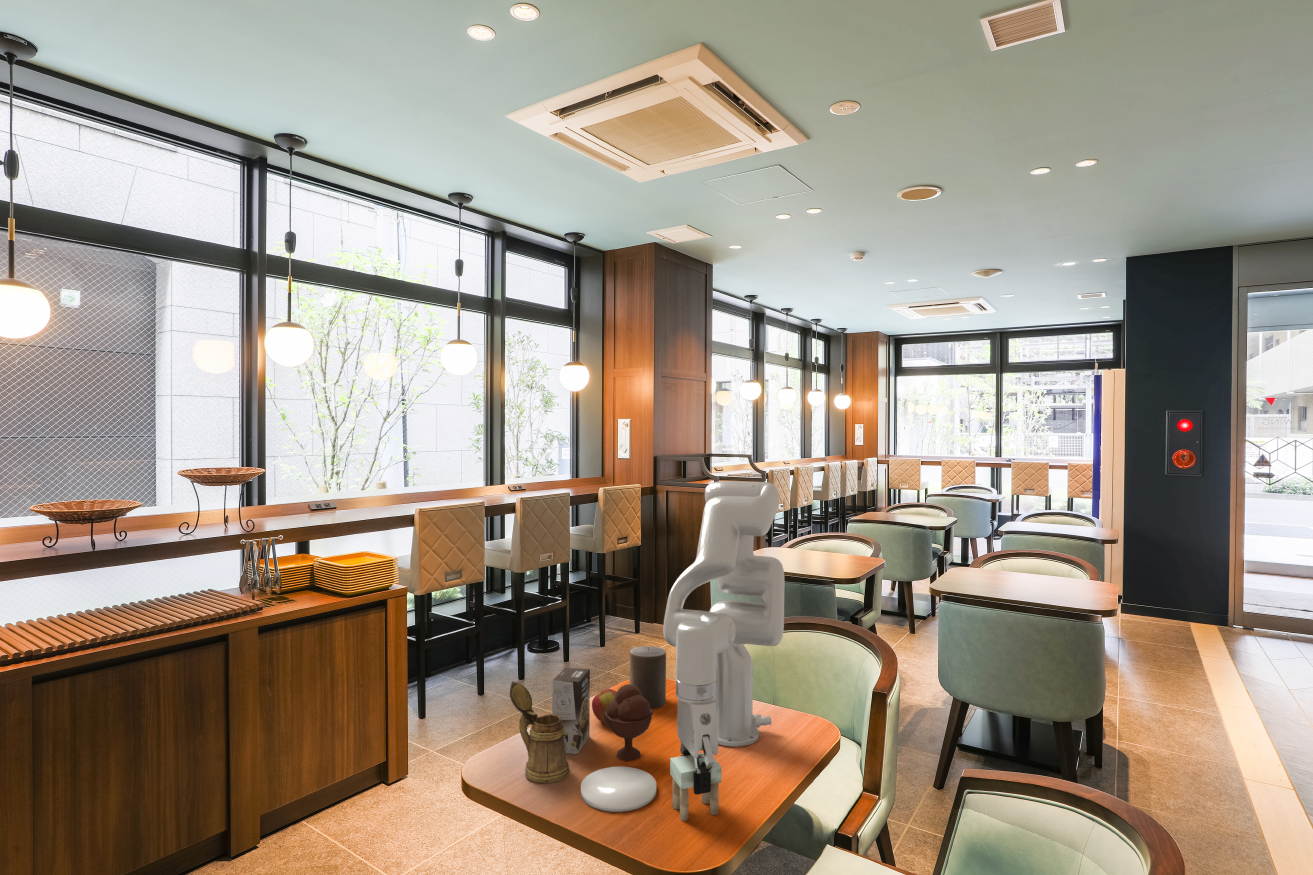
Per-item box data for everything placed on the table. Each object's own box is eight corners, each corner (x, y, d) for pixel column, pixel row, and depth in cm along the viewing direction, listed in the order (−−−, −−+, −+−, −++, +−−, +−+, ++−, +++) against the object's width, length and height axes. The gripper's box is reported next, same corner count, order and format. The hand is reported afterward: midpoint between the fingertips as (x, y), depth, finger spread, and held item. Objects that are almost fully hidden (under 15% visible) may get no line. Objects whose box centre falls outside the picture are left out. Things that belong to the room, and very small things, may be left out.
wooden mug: (522, 755, 148) (522, 674, 148) (576, 767, 143) (577, 682, 143) (498, 774, 140) (499, 687, 140) (555, 787, 135) (556, 697, 135)
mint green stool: (708, 798, 131) (708, 751, 131) (721, 814, 125) (721, 766, 125) (670, 804, 128) (670, 757, 128) (680, 822, 123) (681, 772, 123)
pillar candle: (653, 712, 172) (654, 653, 172) (621, 704, 177) (622, 647, 177) (672, 700, 180) (673, 644, 180) (641, 693, 185) (642, 638, 185)
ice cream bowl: (593, 755, 148) (593, 687, 148) (629, 739, 156) (629, 674, 156) (627, 772, 141) (627, 700, 141) (663, 754, 149) (663, 686, 149)
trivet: (643, 767, 143) (643, 761, 143) (666, 804, 129) (666, 797, 129) (573, 778, 138) (573, 772, 138) (589, 817, 124) (589, 811, 124)
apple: (609, 713, 171) (609, 681, 171) (630, 722, 166) (631, 690, 166) (586, 721, 166) (586, 689, 166) (607, 732, 160) (608, 698, 160)
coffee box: (578, 754, 149) (578, 681, 149) (551, 751, 150) (551, 679, 150) (590, 736, 158) (591, 668, 158) (564, 734, 159) (564, 666, 159)
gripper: (733, 702, 120) (732, 804, 120) (697, 670, 136) (696, 759, 136) (694, 708, 117) (693, 811, 117) (662, 674, 134) (661, 765, 134)
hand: (695, 782), depth 127 cm, fingers closed on mint green stool, 6 cm apart
